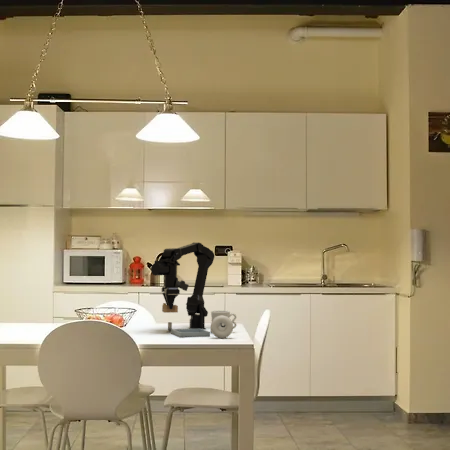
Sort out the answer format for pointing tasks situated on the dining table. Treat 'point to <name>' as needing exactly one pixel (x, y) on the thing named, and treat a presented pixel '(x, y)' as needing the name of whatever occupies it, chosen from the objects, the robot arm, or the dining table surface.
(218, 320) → the grey wheel
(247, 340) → the dining table surface
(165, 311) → the ring
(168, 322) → the metal knob
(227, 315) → the mug
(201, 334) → the tray
